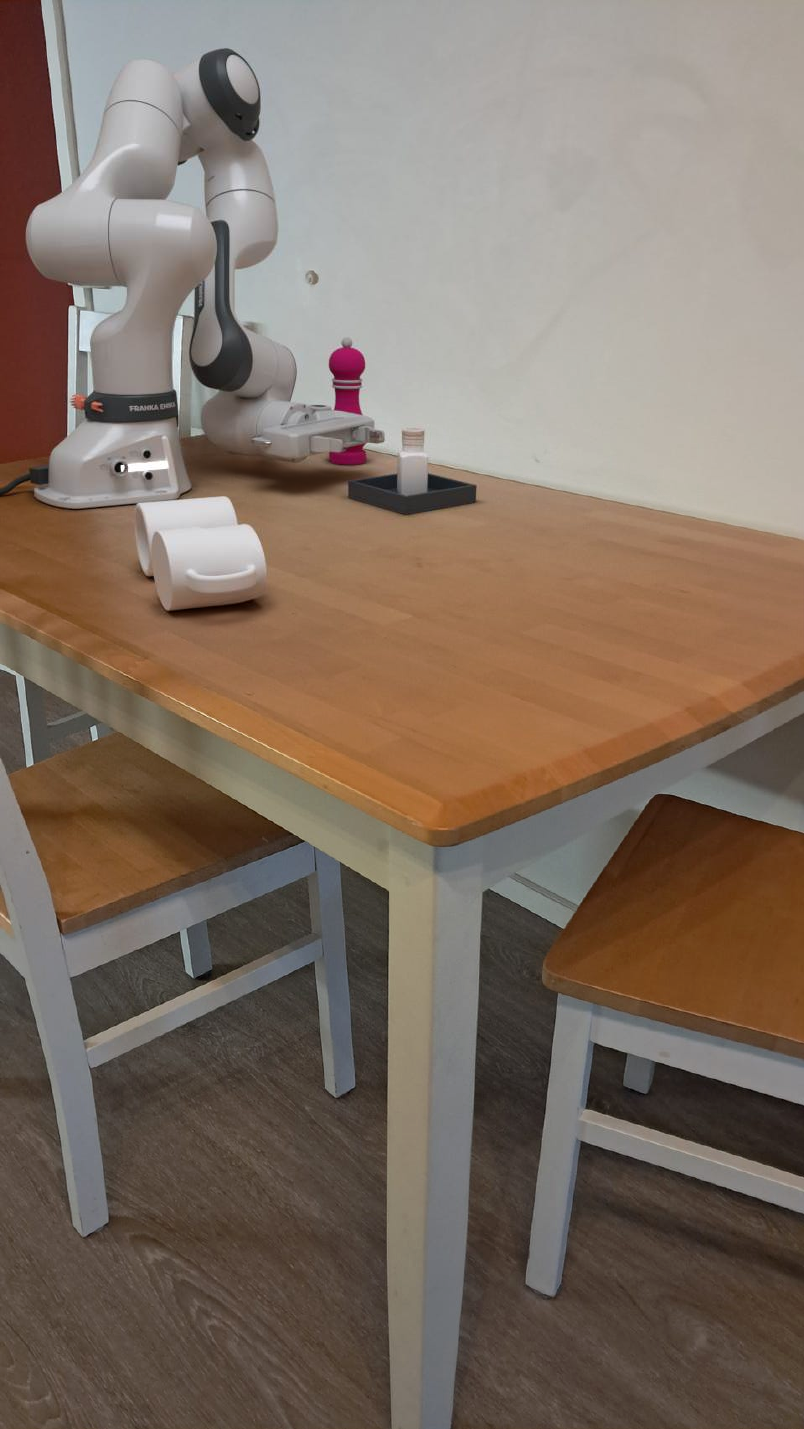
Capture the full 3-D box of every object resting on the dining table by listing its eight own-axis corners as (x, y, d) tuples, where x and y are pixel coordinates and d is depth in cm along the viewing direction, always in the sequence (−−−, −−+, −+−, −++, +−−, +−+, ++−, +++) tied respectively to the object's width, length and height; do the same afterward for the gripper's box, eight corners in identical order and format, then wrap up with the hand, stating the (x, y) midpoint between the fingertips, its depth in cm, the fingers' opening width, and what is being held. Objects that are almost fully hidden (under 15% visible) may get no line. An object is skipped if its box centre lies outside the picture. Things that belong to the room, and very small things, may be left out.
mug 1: (242, 575, 119) (238, 504, 115) (152, 585, 115) (146, 511, 112) (213, 549, 129) (209, 482, 125) (130, 557, 125) (123, 489, 122)
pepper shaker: (423, 493, 157) (424, 427, 153) (427, 499, 153) (429, 431, 149) (396, 493, 156) (397, 427, 152) (400, 499, 152) (401, 431, 149)
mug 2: (152, 596, 111) (146, 520, 108) (239, 585, 115) (235, 512, 112) (183, 631, 101) (177, 549, 98) (276, 618, 105) (273, 539, 102)
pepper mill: (367, 466, 177) (368, 339, 169) (324, 465, 178) (322, 338, 169) (369, 458, 184) (370, 335, 176) (328, 457, 184) (326, 335, 176)
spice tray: (405, 514, 146) (405, 496, 145) (348, 497, 155) (347, 480, 154) (475, 502, 154) (476, 485, 153) (417, 486, 163) (417, 470, 162)
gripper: (243, 418, 154) (318, 428, 147) (330, 403, 169) (402, 411, 162) (245, 462, 156) (319, 474, 149) (330, 444, 172) (401, 453, 165)
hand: (363, 441), depth 156 cm, fingers open, 8 cm apart
